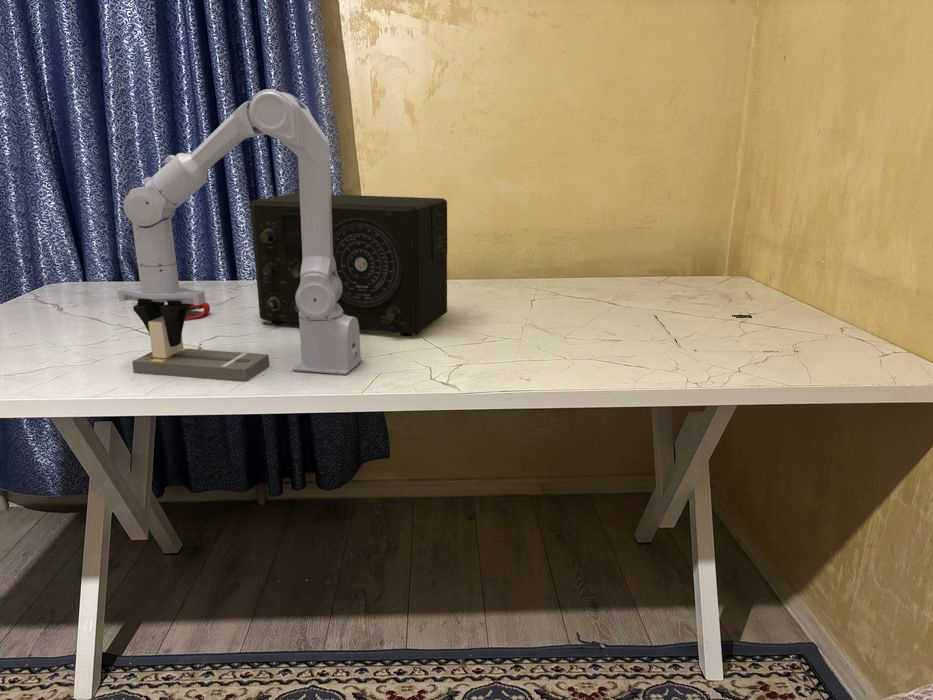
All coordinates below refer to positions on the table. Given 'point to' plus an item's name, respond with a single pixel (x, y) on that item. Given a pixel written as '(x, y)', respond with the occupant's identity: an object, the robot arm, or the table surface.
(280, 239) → the vintage radio
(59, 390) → the table surface
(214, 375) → the fader console
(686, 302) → the table surface
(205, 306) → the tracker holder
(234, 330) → the table surface
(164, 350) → the fader tab
